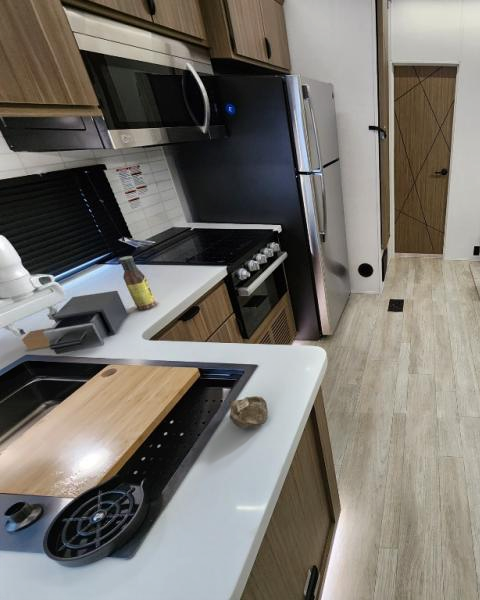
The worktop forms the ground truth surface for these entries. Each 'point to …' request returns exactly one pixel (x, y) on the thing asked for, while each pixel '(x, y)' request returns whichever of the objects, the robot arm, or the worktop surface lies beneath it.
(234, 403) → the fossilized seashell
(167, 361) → the worktop surface
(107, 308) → the gray drawer cabinet
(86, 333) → the drawer
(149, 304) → the sauce bottle
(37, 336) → the block
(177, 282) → the worktop surface
